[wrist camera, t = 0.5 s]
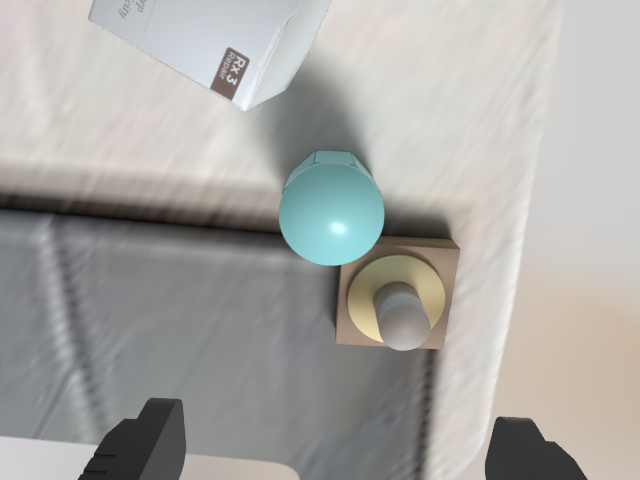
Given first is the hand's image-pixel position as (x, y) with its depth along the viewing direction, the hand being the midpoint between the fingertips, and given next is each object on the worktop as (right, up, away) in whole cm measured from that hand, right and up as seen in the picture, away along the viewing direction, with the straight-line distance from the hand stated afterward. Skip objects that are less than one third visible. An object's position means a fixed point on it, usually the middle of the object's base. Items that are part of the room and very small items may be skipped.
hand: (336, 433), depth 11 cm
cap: (0, +8, +19) cm, 21 cm away
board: (+5, +1, +21) cm, 22 cm away
